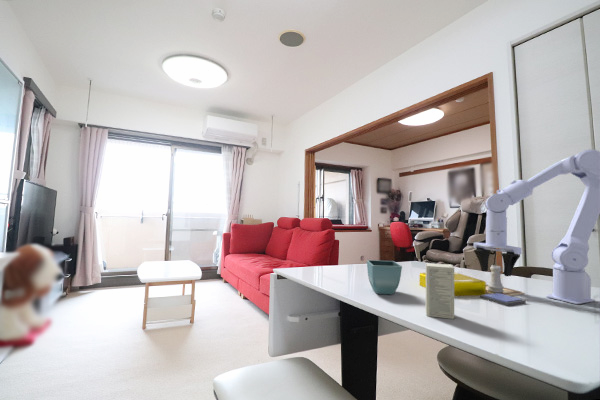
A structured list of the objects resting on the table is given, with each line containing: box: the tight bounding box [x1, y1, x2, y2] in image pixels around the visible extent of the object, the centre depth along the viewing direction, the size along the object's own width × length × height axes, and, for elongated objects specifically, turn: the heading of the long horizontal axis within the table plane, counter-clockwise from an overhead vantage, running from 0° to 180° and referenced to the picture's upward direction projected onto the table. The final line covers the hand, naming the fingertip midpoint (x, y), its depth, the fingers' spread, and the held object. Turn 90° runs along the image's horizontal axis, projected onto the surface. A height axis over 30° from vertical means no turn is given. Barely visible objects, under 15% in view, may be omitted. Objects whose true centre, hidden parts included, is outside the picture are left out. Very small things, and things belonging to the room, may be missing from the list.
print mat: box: [486, 284, 525, 297], centre depth 100 cm, size 11×11×1 cm
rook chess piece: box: [487, 264, 505, 293], centre depth 97 cm, size 4×4×8 cm
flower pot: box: [366, 259, 403, 295], centre depth 94 cm, size 9×9×9 cm
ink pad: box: [479, 293, 526, 307], centre depth 89 cm, size 8×8×1 cm
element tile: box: [418, 271, 487, 297], centre depth 100 cm, size 15×15×5 cm
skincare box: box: [425, 262, 455, 320], centre depth 75 cm, size 6×4×12 cm
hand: (495, 273), depth 100 cm, fingers open, 7 cm apart
